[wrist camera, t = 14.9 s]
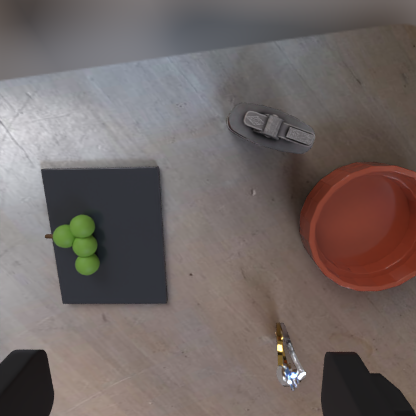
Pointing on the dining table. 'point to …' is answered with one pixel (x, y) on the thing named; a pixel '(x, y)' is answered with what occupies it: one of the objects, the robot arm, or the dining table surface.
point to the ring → (284, 369)
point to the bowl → (363, 225)
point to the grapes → (79, 242)
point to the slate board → (111, 233)
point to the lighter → (270, 128)
